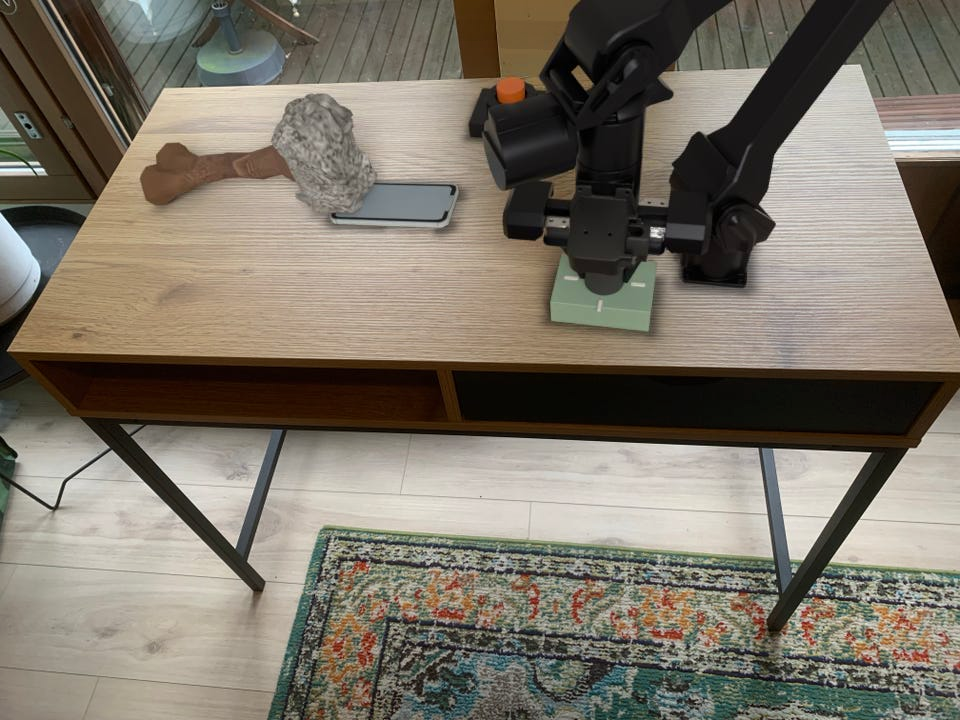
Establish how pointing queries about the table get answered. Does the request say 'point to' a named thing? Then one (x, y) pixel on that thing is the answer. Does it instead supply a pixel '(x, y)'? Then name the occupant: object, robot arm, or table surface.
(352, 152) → the hammer
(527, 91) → the button base
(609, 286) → the dial
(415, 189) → the smartphone
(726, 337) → the table surface
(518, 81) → the button
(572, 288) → the dial panel
